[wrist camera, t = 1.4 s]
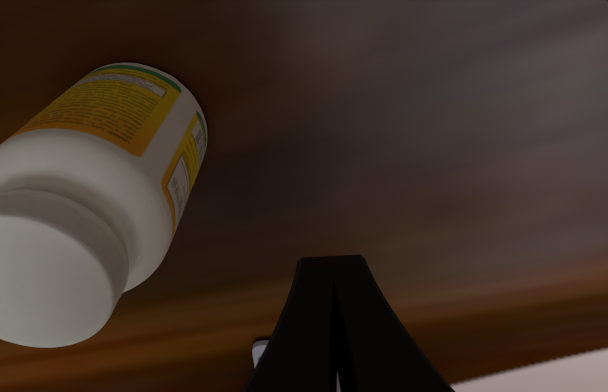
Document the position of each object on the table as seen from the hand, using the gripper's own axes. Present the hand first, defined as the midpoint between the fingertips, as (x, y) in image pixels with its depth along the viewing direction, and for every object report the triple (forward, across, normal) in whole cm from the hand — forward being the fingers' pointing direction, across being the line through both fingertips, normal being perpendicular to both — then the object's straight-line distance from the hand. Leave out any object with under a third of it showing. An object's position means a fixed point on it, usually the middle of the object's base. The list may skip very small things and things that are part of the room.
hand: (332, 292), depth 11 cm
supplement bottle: (+10, +7, 0) cm, 13 cm away
